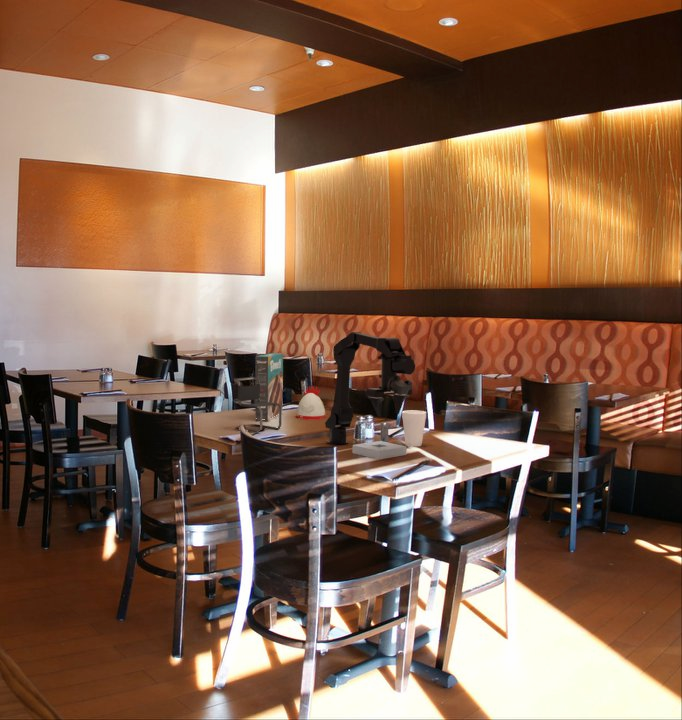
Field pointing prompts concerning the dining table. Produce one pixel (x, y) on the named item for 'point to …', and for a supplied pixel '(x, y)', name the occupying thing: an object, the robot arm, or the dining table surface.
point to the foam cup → (413, 427)
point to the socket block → (379, 450)
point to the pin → (384, 432)
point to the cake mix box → (269, 384)
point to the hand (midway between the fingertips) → (388, 415)
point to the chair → (251, 394)
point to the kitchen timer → (311, 405)
